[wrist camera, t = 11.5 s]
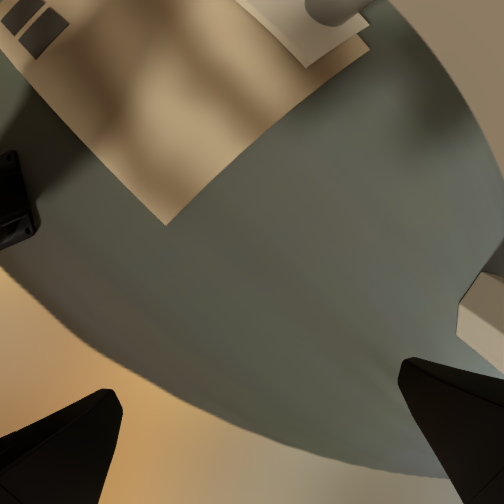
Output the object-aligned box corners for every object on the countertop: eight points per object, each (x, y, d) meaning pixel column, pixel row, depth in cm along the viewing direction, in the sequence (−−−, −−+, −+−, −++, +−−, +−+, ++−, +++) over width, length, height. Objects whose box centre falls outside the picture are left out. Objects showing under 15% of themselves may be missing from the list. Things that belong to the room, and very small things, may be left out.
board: (167, 222, 18) (165, 226, 17) (-13, 28, 10) (-20, 24, 9) (363, 53, 17) (370, 49, 16) (155, -102, 9) (154, -108, 8)
